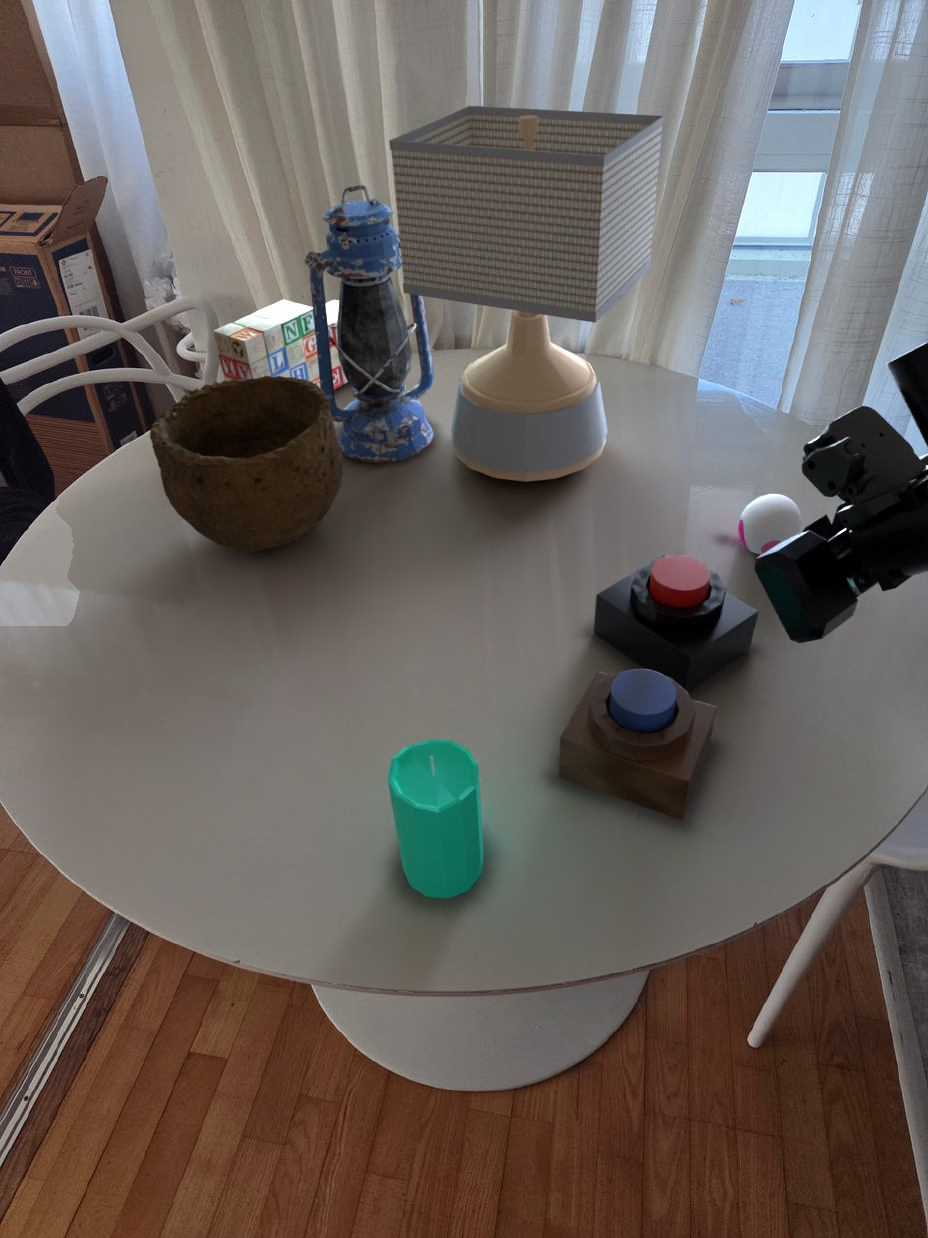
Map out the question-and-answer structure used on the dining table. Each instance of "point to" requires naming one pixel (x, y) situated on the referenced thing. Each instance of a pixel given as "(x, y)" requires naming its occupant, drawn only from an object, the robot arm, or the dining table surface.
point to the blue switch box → (636, 750)
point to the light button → (679, 581)
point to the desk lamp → (528, 263)
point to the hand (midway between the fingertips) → (778, 571)
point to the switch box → (675, 629)
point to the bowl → (250, 460)
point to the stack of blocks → (277, 344)
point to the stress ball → (768, 522)
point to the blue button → (642, 700)
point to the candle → (437, 816)
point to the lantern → (370, 334)
